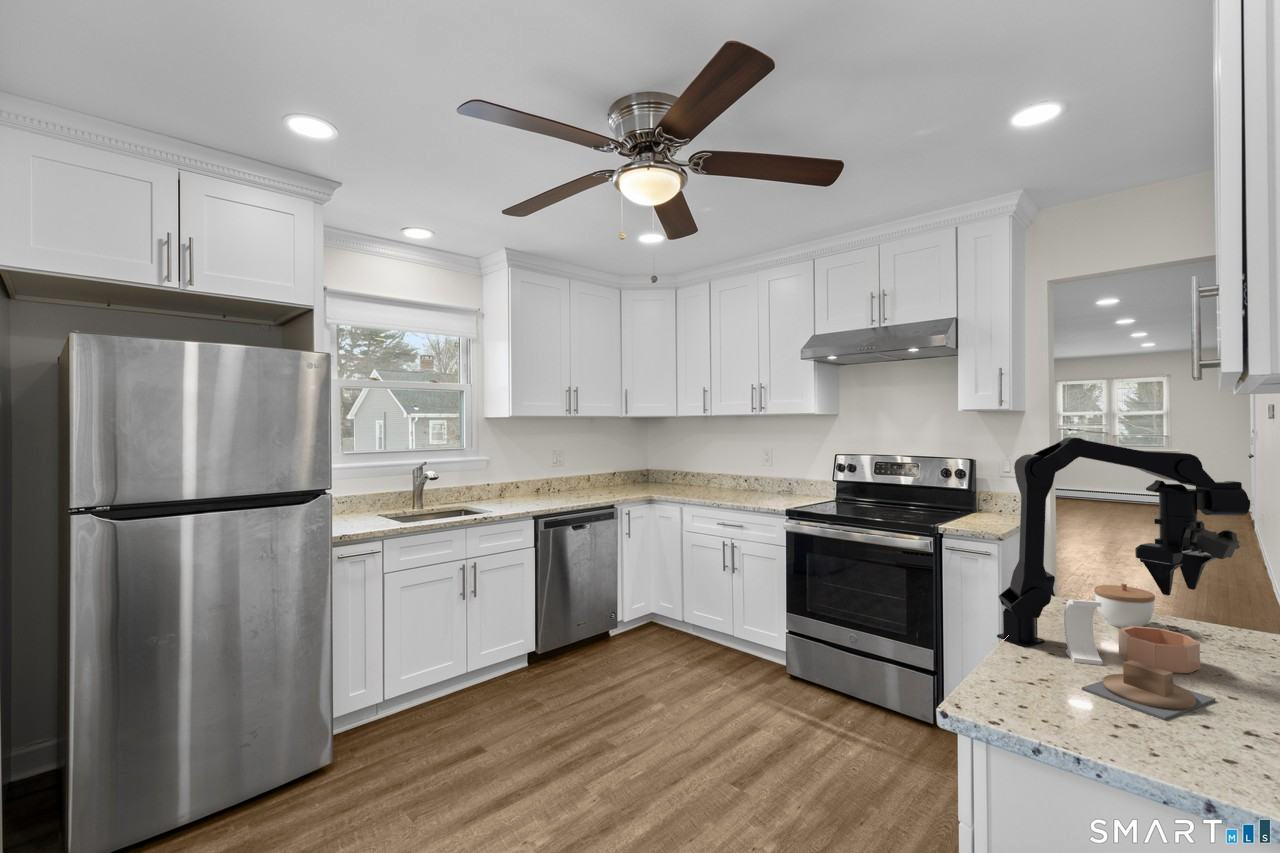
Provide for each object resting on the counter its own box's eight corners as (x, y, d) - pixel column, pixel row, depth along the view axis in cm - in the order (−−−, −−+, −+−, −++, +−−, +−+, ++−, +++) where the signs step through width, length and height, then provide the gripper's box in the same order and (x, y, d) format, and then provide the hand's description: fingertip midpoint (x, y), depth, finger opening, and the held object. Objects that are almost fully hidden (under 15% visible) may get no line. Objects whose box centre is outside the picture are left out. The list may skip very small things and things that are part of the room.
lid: (1087, 686, 105) (1087, 661, 105) (1128, 673, 109) (1127, 649, 109) (1171, 716, 94) (1170, 688, 94) (1211, 700, 98) (1211, 674, 98)
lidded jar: (1084, 621, 139) (1084, 581, 139) (1111, 614, 143) (1110, 575, 143) (1139, 636, 129) (1138, 593, 129) (1165, 628, 134) (1164, 586, 134)
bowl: (1177, 678, 108) (1176, 650, 108) (1109, 657, 118) (1108, 631, 118) (1209, 667, 112) (1209, 640, 112) (1141, 647, 123) (1140, 623, 123)
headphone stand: (1073, 662, 116) (1072, 600, 116) (1064, 651, 122) (1063, 592, 122) (1102, 665, 114) (1101, 602, 114) (1092, 653, 120) (1090, 594, 120)
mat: (1164, 720, 93) (1164, 717, 93) (1081, 689, 104) (1081, 687, 104) (1215, 700, 99) (1215, 698, 99) (1132, 673, 110) (1132, 671, 110)
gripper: (1203, 524, 109) (1205, 609, 109) (1255, 516, 116) (1256, 596, 117) (1133, 516, 119) (1134, 594, 119) (1184, 509, 127) (1185, 582, 127)
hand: (1179, 592), depth 120 cm, fingers open, 9 cm apart
